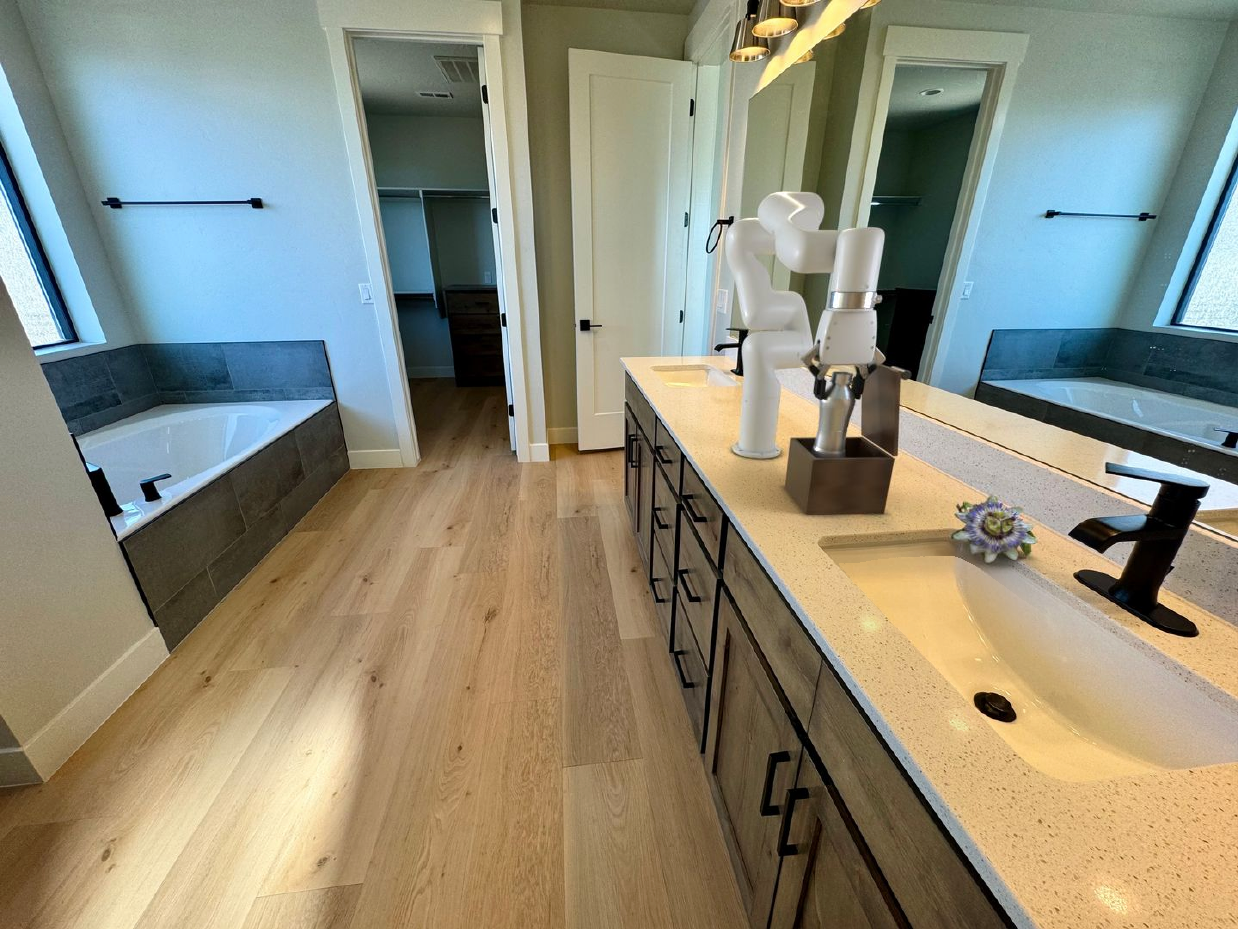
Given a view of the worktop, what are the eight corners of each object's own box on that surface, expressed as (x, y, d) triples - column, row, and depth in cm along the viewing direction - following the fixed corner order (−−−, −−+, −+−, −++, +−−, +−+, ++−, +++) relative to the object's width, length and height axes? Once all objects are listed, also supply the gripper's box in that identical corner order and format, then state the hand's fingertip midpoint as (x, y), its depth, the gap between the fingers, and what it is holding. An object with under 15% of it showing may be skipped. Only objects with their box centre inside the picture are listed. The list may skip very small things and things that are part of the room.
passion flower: (979, 588, 83) (951, 540, 80) (957, 546, 92) (931, 501, 89) (1059, 566, 78) (1033, 513, 74) (1027, 524, 87) (1002, 474, 83)
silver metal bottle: (846, 476, 98) (866, 377, 91) (810, 473, 99) (827, 375, 92) (839, 465, 104) (857, 371, 97) (805, 462, 105) (821, 369, 98)
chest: (805, 514, 98) (813, 459, 94) (784, 487, 111) (790, 437, 107) (884, 513, 98) (895, 458, 94) (853, 486, 111) (862, 436, 106)
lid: (896, 371, 88) (925, 367, 87) (861, 359, 100) (886, 355, 100) (893, 456, 94) (920, 452, 93) (861, 434, 106) (884, 431, 106)
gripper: (888, 300, 93) (872, 393, 100) (797, 302, 94) (786, 394, 100) (909, 302, 86) (891, 402, 93) (811, 304, 87) (799, 403, 93)
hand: (837, 397), depth 96 cm, fingers closed on silver metal bottle, 6 cm apart
